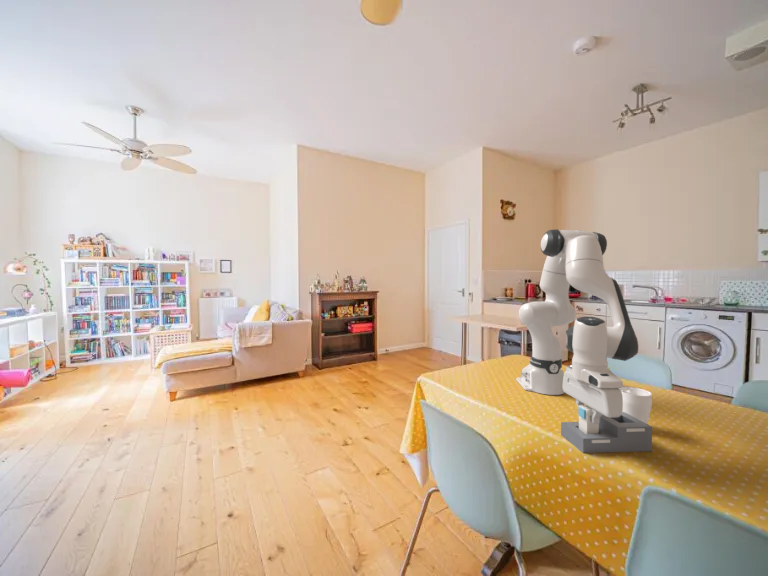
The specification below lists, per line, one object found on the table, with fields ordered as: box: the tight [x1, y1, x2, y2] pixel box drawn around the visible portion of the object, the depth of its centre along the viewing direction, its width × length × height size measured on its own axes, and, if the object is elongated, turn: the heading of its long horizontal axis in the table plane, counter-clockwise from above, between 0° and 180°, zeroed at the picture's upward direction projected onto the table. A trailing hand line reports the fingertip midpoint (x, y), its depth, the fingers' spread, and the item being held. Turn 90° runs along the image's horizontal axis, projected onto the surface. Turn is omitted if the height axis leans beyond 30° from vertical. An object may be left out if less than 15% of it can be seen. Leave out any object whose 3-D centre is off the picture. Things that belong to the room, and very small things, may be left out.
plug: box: [577, 404, 599, 434], centre depth 91 cm, size 4×4×9 cm
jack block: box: [560, 412, 653, 454], centre depth 91 cm, size 10×20×7 cm, turn 93°
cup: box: [619, 385, 653, 425], centre depth 101 cm, size 9×9×12 cm
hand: (588, 419), depth 91 cm, fingers closed on plug, 3 cm apart
